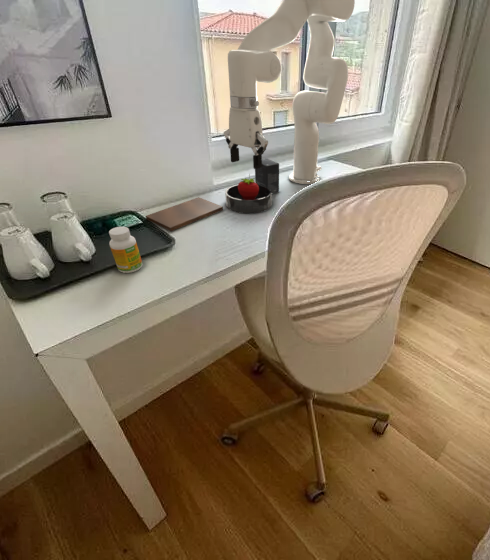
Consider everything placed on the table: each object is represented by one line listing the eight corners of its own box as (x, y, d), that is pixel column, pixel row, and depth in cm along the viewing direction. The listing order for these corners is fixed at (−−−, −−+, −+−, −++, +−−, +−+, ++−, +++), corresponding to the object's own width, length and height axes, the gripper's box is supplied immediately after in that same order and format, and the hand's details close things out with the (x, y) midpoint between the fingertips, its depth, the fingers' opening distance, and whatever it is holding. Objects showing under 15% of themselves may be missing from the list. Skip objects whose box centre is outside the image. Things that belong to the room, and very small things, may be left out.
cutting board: (199, 200, 110) (198, 197, 109) (223, 210, 104) (223, 206, 104) (146, 219, 96) (145, 215, 96) (170, 231, 91) (170, 227, 90)
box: (279, 192, 119) (279, 163, 113) (266, 195, 116) (266, 165, 110) (267, 185, 124) (267, 157, 118) (255, 188, 121) (254, 160, 115)
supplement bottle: (134, 275, 73) (122, 237, 68) (113, 271, 74) (99, 234, 68) (147, 262, 78) (137, 226, 72) (127, 259, 78) (115, 223, 73)
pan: (248, 192, 117) (247, 180, 115) (280, 203, 110) (280, 191, 108) (216, 205, 107) (215, 192, 105) (250, 218, 100) (249, 204, 98)
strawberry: (245, 198, 112) (243, 169, 106) (263, 203, 110) (262, 173, 104) (234, 203, 108) (232, 174, 102) (253, 208, 105) (252, 178, 99)
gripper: (275, 106, 89) (274, 168, 99) (231, 99, 97) (235, 157, 107) (257, 108, 84) (258, 173, 94) (212, 100, 92) (218, 161, 102)
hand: (246, 164), depth 101 cm, fingers open, 9 cm apart
